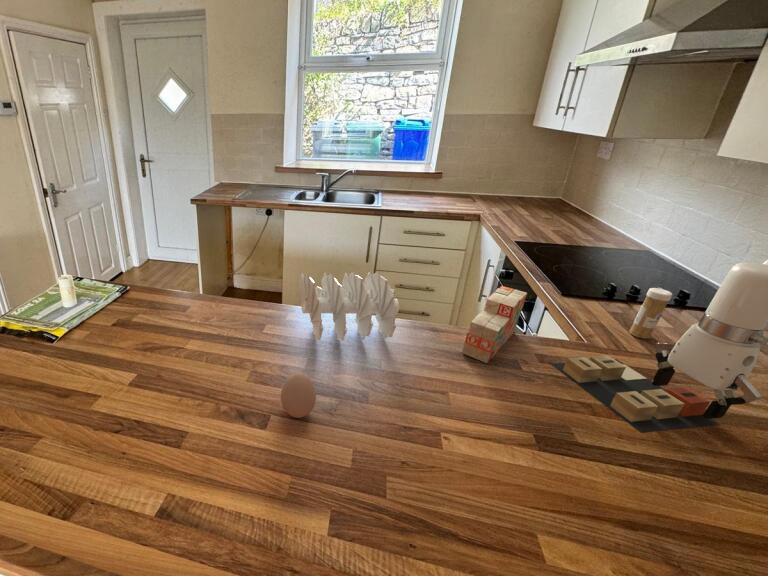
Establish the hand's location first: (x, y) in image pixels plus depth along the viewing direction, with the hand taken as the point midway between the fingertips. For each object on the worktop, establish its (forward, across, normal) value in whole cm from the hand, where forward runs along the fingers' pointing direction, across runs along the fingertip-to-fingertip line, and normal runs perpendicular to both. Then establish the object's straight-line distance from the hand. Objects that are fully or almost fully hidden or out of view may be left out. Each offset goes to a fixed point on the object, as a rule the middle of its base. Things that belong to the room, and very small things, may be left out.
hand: (683, 400), depth 82 cm
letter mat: (+3, +6, +6) cm, 9 cm away
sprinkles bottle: (+3, +27, -21) cm, 34 cm away
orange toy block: (+2, 0, 0) cm, 2 cm away
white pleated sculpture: (+4, +36, +59) cm, 69 cm away
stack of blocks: (+3, +28, +23) cm, 36 cm away
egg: (+4, +8, +79) cm, 79 cm away
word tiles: (+2, +6, +9) cm, 11 cm away
